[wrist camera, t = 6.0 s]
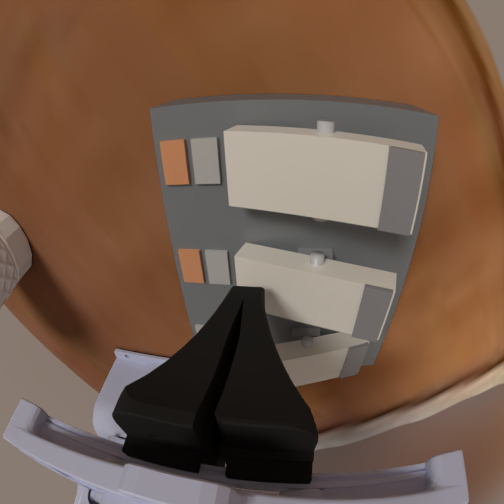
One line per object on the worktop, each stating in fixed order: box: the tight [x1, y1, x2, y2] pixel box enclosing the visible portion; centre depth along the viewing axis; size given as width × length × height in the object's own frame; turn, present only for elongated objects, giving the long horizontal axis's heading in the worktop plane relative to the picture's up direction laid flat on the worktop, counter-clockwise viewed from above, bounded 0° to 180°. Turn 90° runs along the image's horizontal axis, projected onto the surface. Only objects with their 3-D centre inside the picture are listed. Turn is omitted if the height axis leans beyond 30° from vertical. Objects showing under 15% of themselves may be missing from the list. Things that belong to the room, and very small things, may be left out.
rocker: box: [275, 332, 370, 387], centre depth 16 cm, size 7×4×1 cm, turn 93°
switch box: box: [150, 94, 439, 366], centre depth 16 cm, size 12×16×4 cm
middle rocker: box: [234, 243, 397, 342], centre depth 13 cm, size 7×4×1 cm, turn 90°
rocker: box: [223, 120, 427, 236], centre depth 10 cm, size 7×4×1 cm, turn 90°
